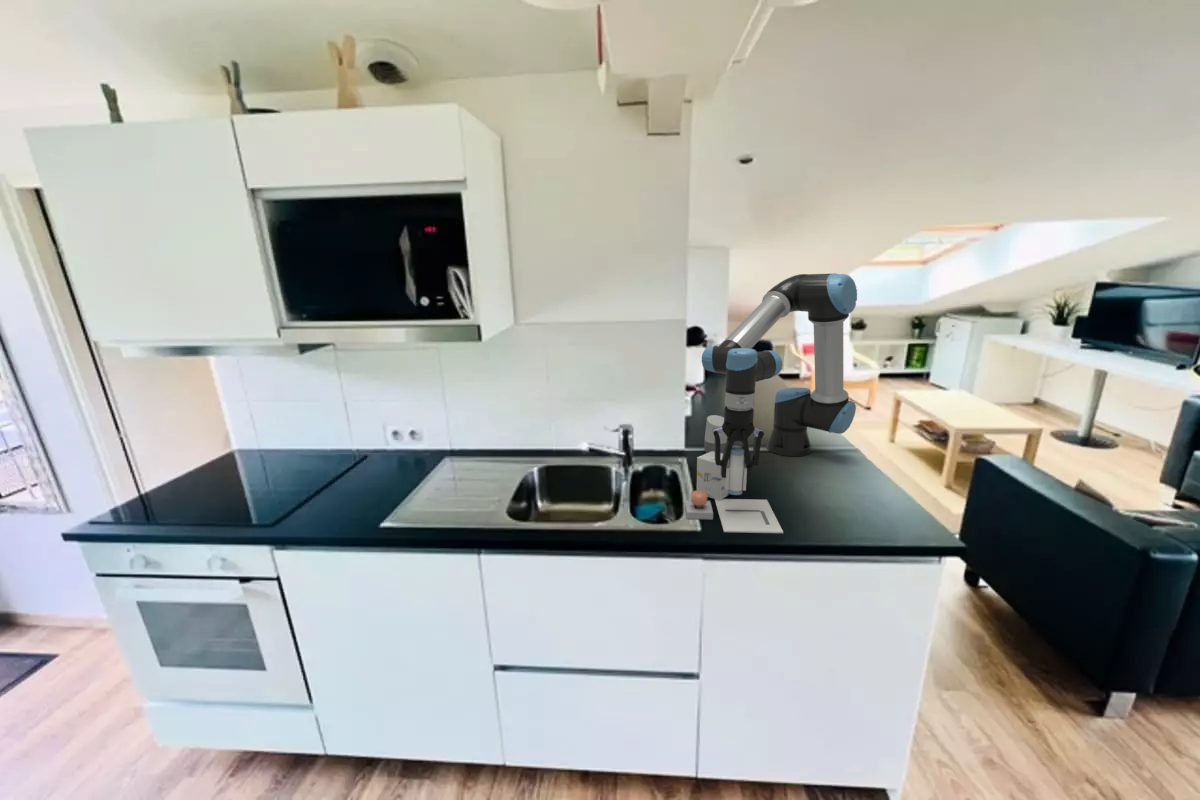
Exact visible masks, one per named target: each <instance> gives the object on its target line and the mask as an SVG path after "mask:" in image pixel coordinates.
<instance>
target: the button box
mask: <svg viewBox="0 0 1200 800" xmlns="http://www.w3.org/2000/svg"><path fill="white" fill-rule="evenodd" d="M684 507H685V514H686V519H687V520H714V511H713V507H712V502H711V500H707V504H705V505H702V509H696V505H694V504H693V503H691V500H685V504H684Z"/></svg>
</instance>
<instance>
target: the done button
mask: <svg viewBox="0 0 1200 800" xmlns="http://www.w3.org/2000/svg"><path fill="white" fill-rule="evenodd" d="M690 495H691V496H690V501H691V503H693V504H694V505H696V509H702V505H705V504H707V501H708V497H707V493H706V492H704V491H700V490H697V489H696V490H694V491H693V490H692V492H691V493H690Z"/></svg>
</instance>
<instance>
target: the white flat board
mask: <svg viewBox="0 0 1200 800" xmlns="http://www.w3.org/2000/svg"><path fill="white" fill-rule="evenodd" d="M714 502H715V505H716V509H717V513H718V516H719V520H720V523H721V526H722V530H723V533H746V534H747V533H749V534H750V533H752V534H754V533H755V534H784V530H783V529H782V527H781V525H780V522H779V521H778V518H777V516H776V515H775V512H774V511H773V510H772V507H771V505H770V503H769V501H768V499H756V498H755V499H750V498H749V499H746V498H743V499H742V498H723V499H722V500H717V499H714Z"/></svg>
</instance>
